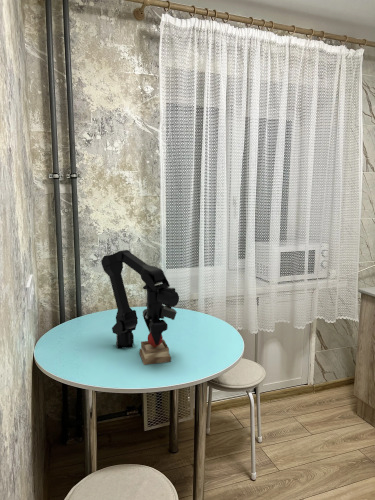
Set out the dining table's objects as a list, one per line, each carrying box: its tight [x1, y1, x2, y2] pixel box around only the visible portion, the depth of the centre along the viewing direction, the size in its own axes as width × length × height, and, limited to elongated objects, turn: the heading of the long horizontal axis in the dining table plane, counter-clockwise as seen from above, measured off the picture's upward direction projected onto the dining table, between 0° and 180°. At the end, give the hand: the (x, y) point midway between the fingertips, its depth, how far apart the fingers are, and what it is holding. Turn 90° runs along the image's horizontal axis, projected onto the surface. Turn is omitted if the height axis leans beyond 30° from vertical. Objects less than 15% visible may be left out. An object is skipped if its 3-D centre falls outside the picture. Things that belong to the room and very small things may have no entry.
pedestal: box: [138, 338, 172, 366], centre depth 146 cm, size 10×10×5 cm
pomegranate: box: [147, 332, 164, 348], centre depth 146 cm, size 6×6×8 cm
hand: (154, 340), depth 146 cm, fingers open, 9 cm apart
